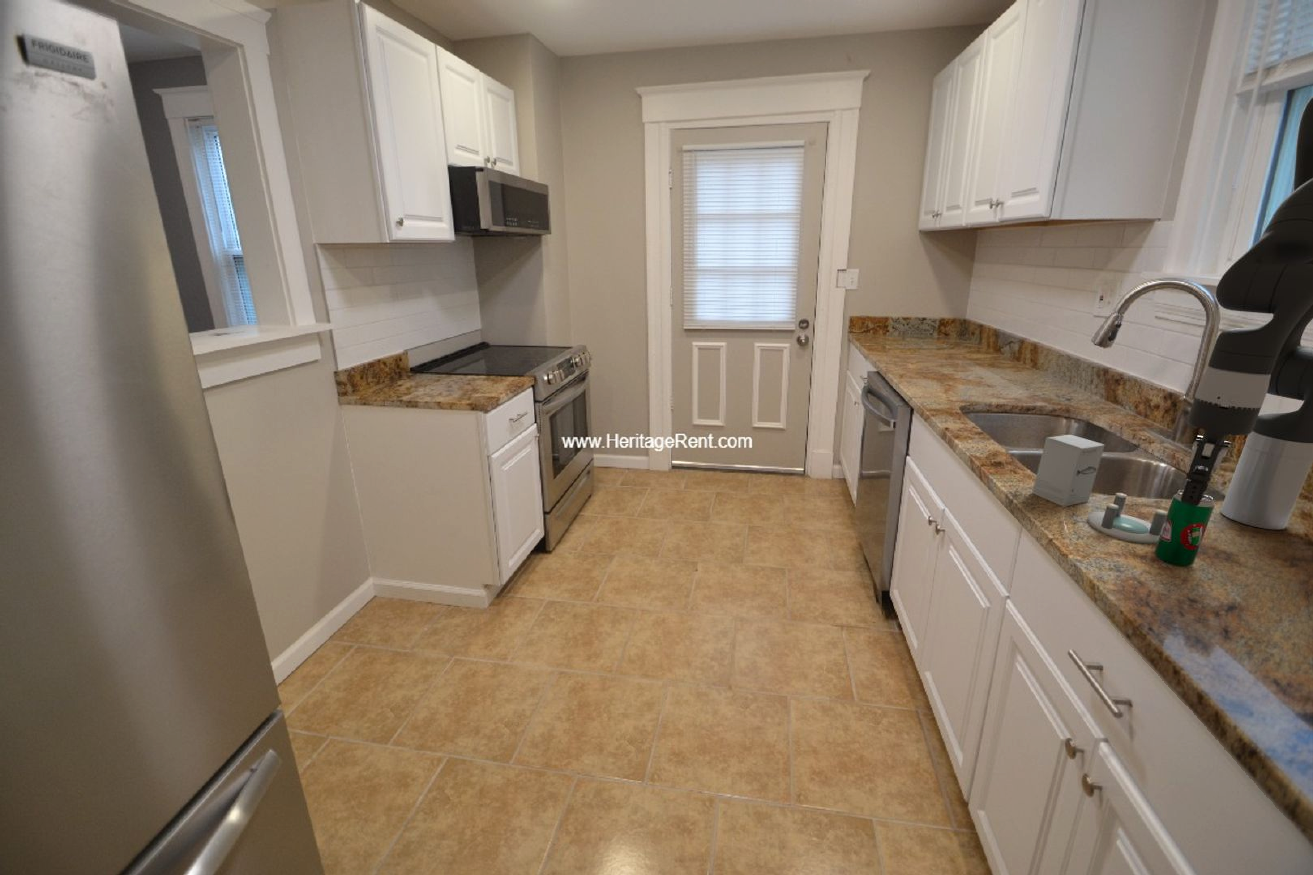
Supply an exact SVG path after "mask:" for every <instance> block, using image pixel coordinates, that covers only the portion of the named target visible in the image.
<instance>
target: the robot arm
mask: <svg viewBox="0 0 1313 875" xmlns="http://www.w3.org/2000/svg"><path fill="white" fill-rule="evenodd" d="M1296 137H1297V138H1296V144H1295V145H1296V146H1295V157H1294V158H1295V160H1294V174H1293V175H1294V177H1293V188H1292V189H1293V191H1292V192H1291V193H1290V194H1289V195H1288V196H1287V197H1286V198H1284V199H1283V201H1282V202H1281V203H1280V204H1279V205H1278V207H1277V209H1276V210H1275V211H1274V214H1273V215H1272V217H1271V219H1270V221H1269V222H1268V224H1267V226H1266V228H1265V230H1264V232H1262V235H1261V236H1260V238H1259V239H1258V240H1257V241H1256V243H1254V244H1253V246H1252V247H1250V248H1249V249H1248V250H1247V251H1246V252H1245V254H1243V255H1242V256H1241V257H1240V258H1239V259H1237V261H1235V262H1234V263H1233V264H1232V265H1231V266H1229V268H1228V269H1227V270H1226V271H1225V272H1224V274H1223V275H1222V277H1221V278H1220V279H1219V281H1218V284H1217V286H1216V290H1215V297H1216V301H1217V304H1218V305H1220V307H1222V308H1223V309H1225V310H1230V311H1233V312H1234V311H1235V312H1245V313H1258V314H1272V318H1271V319H1270V321H1268V322H1267V323H1265V324H1264V325H1261V326H1255V327H1238V328H1237V327H1236V328H1228V329H1224V330H1222V332H1220V333H1219V334H1218V336H1217V338H1216V341H1215V343H1214V346H1213V350H1212V352H1211V355H1210V357H1209V361H1208V364H1207V367H1206V369H1205V371H1204V373H1203V375H1202V376H1201V379H1200V381H1199V382H1198V387H1197V389H1196V393H1195V396H1194V398H1193V401H1192V404H1191V407H1190V410H1189V412H1188V416H1187V418H1186V422H1187V424H1188V425H1189V426H1192V427H1194V428H1196V429H1201V430H1203V431H1204V433H1203V434H1204V435H1203V436H1202V435H1197V437H1196V438H1195V439H1194V441H1193V444H1192V453H1191V456H1190V458H1189V461H1188V464H1187V465H1188V467H1189V470H1188V472H1187V473H1186V475H1185V477H1186V481H1187V482H1186V484H1185V485H1184V486H1185V487H1184V489H1183V490H1184V492H1183V494H1182V497H1181V502H1183V503H1186V504H1190V505H1193V506H1197V505H1199V503H1200V501H1201V498H1202V495H1203V493H1204V494H1205V492H1206V491H1207V489H1208V486H1209V484H1210V482H1211V479H1212V475H1213V474H1214V473H1217V472H1218V470H1219V468H1220V466H1221V464H1222V462H1223V459H1224V457H1226V455H1227V454H1228V451H1229V449H1230V446H1231V444H1232V442H1231V441H1226V440H1227V438H1228V436H1229V435H1233V436H1247V438H1246V441H1245V444H1244V447H1243V449H1242V452H1241V455H1240V457H1239V460H1238V462H1237V465H1236V468H1235V471H1234V473H1233V476H1232V479H1231V480H1230V481H1231V482H1230V484H1229V486H1228V489H1227V492H1226V494H1225V497H1224V500H1223V503H1222V504H1221V509H1220V513H1221V514H1222V515H1223V516H1225V517H1226V518H1228V519H1230V520H1233V521H1236V522H1238V523H1241V524H1244V525H1248V526H1251V527H1257V528H1261V529H1266V530H1267V529H1268V530H1275V531H1276V530H1284V529H1286V527H1287V525H1288V523H1289V520H1290V519H1291V515H1292V514H1293V510H1294V508H1295V507H1296V506H1295V505H1296V503H1297V501H1298V499H1299V496H1300V493H1301V492H1302V489H1303V487H1304V484H1305V482H1306V479H1307V477H1308V474H1309V472H1310V469H1311V467H1312V465H1313V347H1305V346H1302V344H1301V341H1302V337H1303V334H1304V332H1305V329H1306V328H1307V327H1308V325H1309V324H1310V323H1311V322H1312V320H1313V96H1311V97H1310V99H1309V100H1307V103H1306V104H1305V105H1304V107H1303V110H1302V113H1301V115H1300V120H1299V123H1298V128H1297V136H1296ZM1267 394H1268V395H1273V396H1277V397H1282V398H1287V399H1292V400H1296V401H1302V405H1301V406H1300V407H1299V408H1298V409H1297V410H1295V411H1291V412H1283V413H1282V412H1281V413H1279V412H1278V413H1265V414H1260V412H1261V409H1262V406H1263V404H1264V401H1265V399H1266V396H1267Z"/></svg>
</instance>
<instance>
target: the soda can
mask: <svg viewBox="0 0 1313 875" xmlns="http://www.w3.org/2000/svg"><path fill="white" fill-rule="evenodd" d="M1183 492H1184V489H1179V490H1178V491H1177V492H1176V494H1174V495H1173V496H1172V499H1171V502H1170V505H1169V507H1168V511H1167V516H1166V519H1165V522H1164V525H1163V528H1162V531H1161V534H1160V537H1159V540H1158V542H1157V543H1156V545H1155V549H1154V555H1155V557H1156V558H1157V559H1158V560H1160V561H1161V562H1163V563H1164V564H1168V565H1171V566H1174V567H1179V568H1188V567H1190V566H1192V565H1194V563H1195V560H1196V557H1197V555H1198V553H1199V549H1200V547H1201V544H1202V542H1203V539H1204V535H1205V533H1206V530H1207V528H1208V525H1209V522H1210V519H1211V516H1212V514H1213V512H1214V509H1215V504H1214V502H1213V501H1214V497H1212V496H1210V495H1208V494H1206V493H1205V492H1204V493H1203V495H1202V498H1201V501H1200V503H1199V505H1197V506H1193V505H1190V504H1186V503H1183V502H1181V497H1182V494H1183Z"/></svg>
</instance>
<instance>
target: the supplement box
mask: <svg viewBox="0 0 1313 875" xmlns="http://www.w3.org/2000/svg"><path fill="white" fill-rule="evenodd" d="M1104 449H1105V444H1103V443H1101V442H1097V441H1094V440H1089V439H1087V438H1085V437H1084V438H1083V437H1080V436H1076V435H1073V434H1064V435H1057V436H1056V435H1055V436H1048V437H1046V438H1045V442H1044V446H1043V451H1042V453H1041V456H1040V457H1041V458H1040V460H1039V463H1038V464H1039V465H1038V469H1037V473H1036V476H1035V480H1034V484H1033V489H1032V492H1031V493H1032V494H1034V495H1035V496H1037V497H1039V498H1042V499H1045V500H1047V501H1050V502H1053V503H1054V504H1057V505H1058V506H1062V507H1069V506H1072V505H1073V506H1074V505H1077V504H1083V503H1088V502H1089V500H1090V496H1091V493H1092V490H1093V486H1094V483H1095V480H1096V475H1097V473H1098V471H1099V467H1100V463H1101V459H1102V456H1103V452H1104Z"/></svg>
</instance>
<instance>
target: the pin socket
mask: <svg viewBox="0 0 1313 875" xmlns="http://www.w3.org/2000/svg"><path fill="white" fill-rule="evenodd" d="M1127 498H1128V495H1127V494H1125V493H1122V492H1116V493H1115V497H1114V500H1113V502H1112V503H1106V508H1105V511H1095V512H1091V513H1090V514H1089V515H1088V519H1087V522H1088V524H1089V525H1090V526H1091V527H1092V528H1094V529H1095V530H1097V531H1099V532H1100V533H1103V534H1105V535H1107V536H1110V537H1113V538H1116V539H1118V540H1122V541H1128V542H1130V543H1131V542H1133V543H1138V544H1157V543H1158V540H1159V537H1160V534H1161V531H1162V528H1163V525H1164V522H1165V519H1166V516H1167V513H1168V511H1165V510H1162V509H1155V511H1154V515H1153V517H1152V521H1151V523H1150V522H1148V521H1145V520H1143V519H1141V518H1137V517H1135V516H1130V515H1128V514H1123V509H1124V505H1125V504H1126V500H1127Z"/></svg>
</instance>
